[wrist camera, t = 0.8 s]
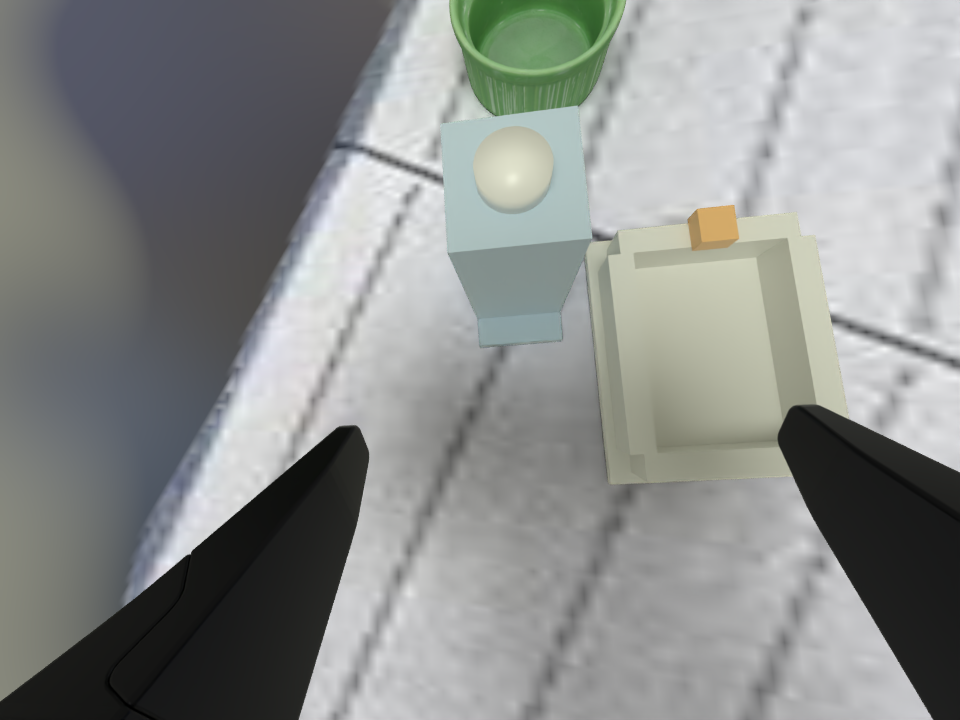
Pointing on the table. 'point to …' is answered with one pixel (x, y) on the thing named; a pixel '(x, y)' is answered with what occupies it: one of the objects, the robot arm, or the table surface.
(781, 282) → the pocket tray
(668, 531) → the table surface
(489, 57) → the ramekin
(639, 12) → the table surface
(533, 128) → the block
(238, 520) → the robot arm
